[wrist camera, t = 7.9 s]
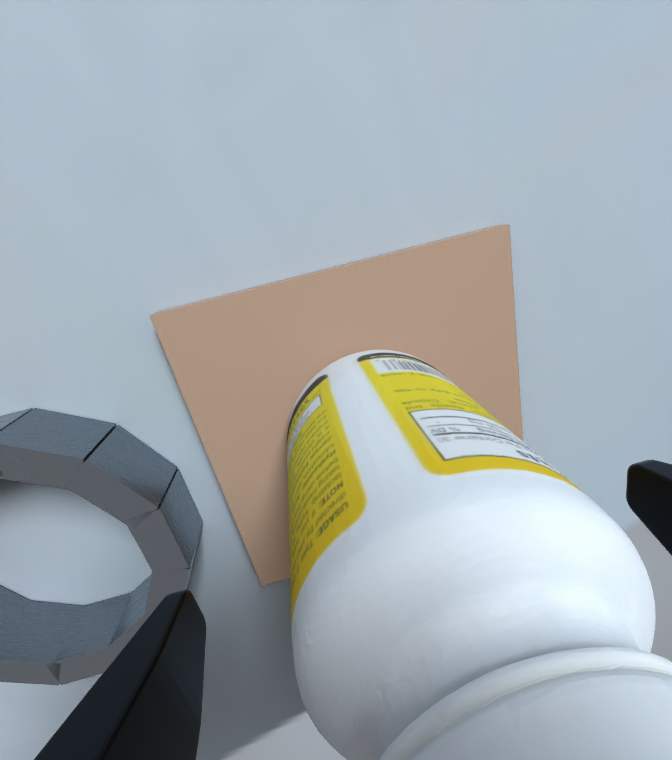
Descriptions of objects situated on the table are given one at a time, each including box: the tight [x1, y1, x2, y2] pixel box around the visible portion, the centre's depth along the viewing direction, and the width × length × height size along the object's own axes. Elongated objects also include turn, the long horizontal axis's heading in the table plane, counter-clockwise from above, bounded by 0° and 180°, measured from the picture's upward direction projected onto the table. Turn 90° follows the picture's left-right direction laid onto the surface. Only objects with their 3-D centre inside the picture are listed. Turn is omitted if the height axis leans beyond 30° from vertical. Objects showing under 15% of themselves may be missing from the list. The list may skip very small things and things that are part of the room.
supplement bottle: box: [287, 350, 672, 760], centre depth 8 cm, size 5×5×10 cm
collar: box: [0, 408, 203, 685], centre depth 12 cm, size 8×8×2 cm
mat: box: [150, 225, 523, 586], centre depth 12 cm, size 10×10×1 cm
